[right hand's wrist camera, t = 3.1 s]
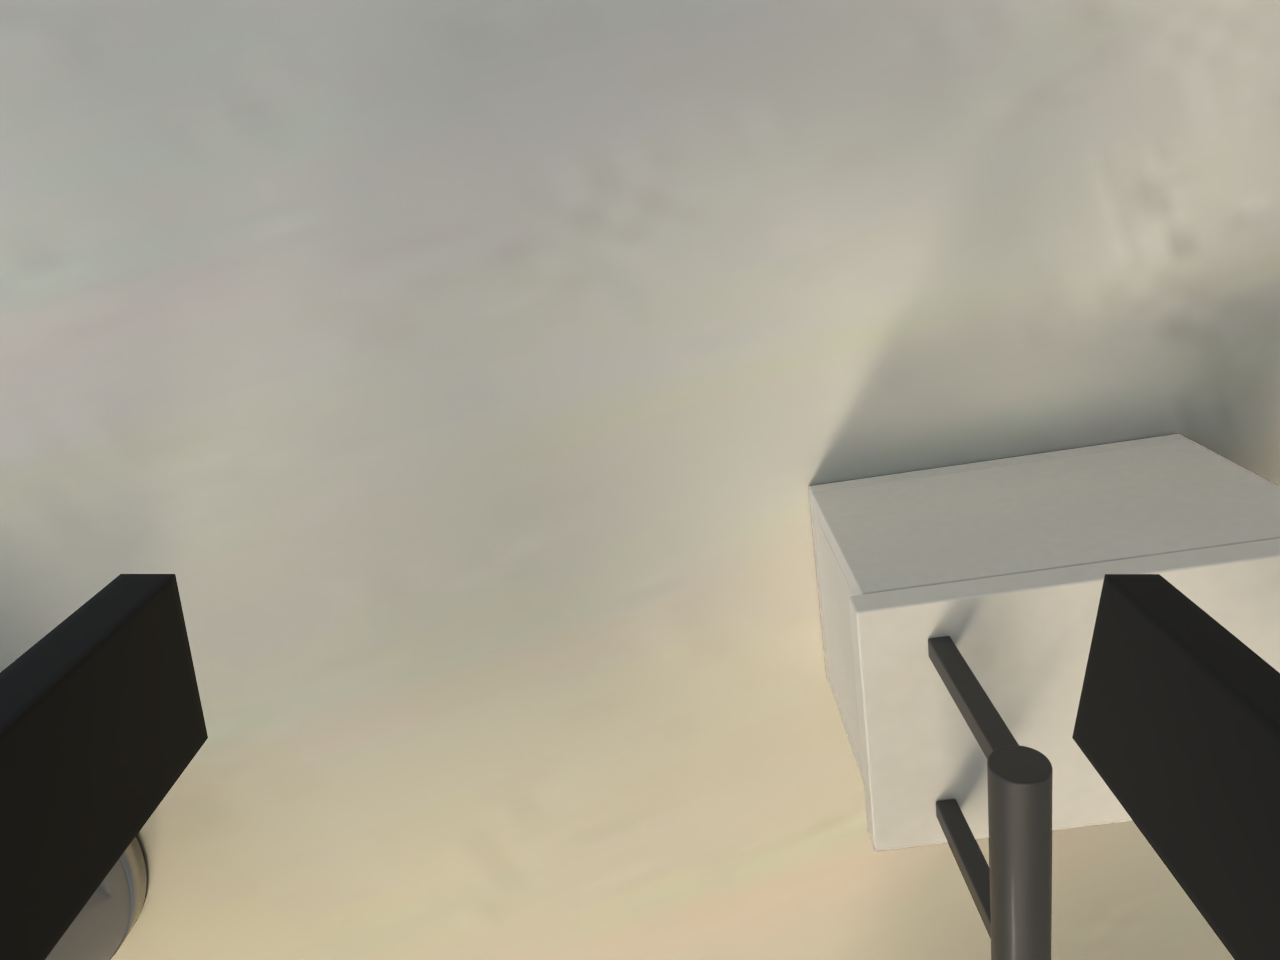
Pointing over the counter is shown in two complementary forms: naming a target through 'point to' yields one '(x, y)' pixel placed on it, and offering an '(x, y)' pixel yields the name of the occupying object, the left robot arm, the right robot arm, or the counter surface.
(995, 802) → the lid
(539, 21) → the counter surface
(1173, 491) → the chest
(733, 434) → the counter surface
